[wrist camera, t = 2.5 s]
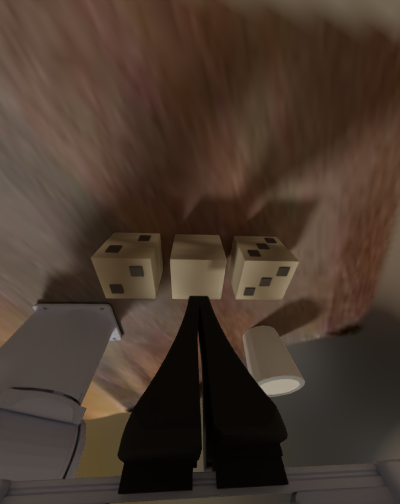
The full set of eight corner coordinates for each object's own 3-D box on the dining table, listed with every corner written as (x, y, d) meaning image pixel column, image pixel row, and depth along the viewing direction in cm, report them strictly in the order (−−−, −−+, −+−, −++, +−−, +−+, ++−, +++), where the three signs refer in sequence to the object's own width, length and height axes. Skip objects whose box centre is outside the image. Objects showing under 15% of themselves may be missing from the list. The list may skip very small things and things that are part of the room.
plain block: (176, 268, 19) (172, 298, 15) (175, 233, 17) (169, 259, 13) (215, 269, 19) (220, 299, 15) (219, 234, 17) (226, 260, 13)
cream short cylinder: (251, 319, 25) (269, 373, 19) (289, 327, 26) (317, 380, 20) (231, 343, 28) (242, 395, 22) (266, 349, 29) (284, 399, 24)
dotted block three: (227, 269, 19) (236, 300, 15) (233, 234, 17) (245, 260, 13) (264, 270, 20) (282, 300, 16) (276, 235, 17) (300, 261, 13)
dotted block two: (123, 267, 19) (105, 299, 15) (114, 230, 16) (89, 257, 12) (163, 268, 19) (155, 299, 15) (160, 231, 16) (149, 258, 13)
